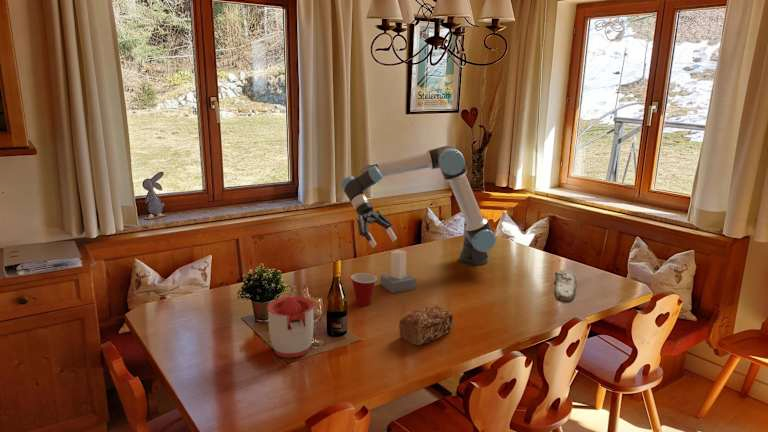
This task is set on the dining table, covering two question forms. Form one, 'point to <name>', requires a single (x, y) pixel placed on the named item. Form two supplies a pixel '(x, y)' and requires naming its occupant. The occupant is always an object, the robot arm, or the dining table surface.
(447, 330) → the bread
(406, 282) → the blue-grey flat block
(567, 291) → the stone
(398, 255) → the cream pillar block
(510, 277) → the dining table surface
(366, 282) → the plastic cup
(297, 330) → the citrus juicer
